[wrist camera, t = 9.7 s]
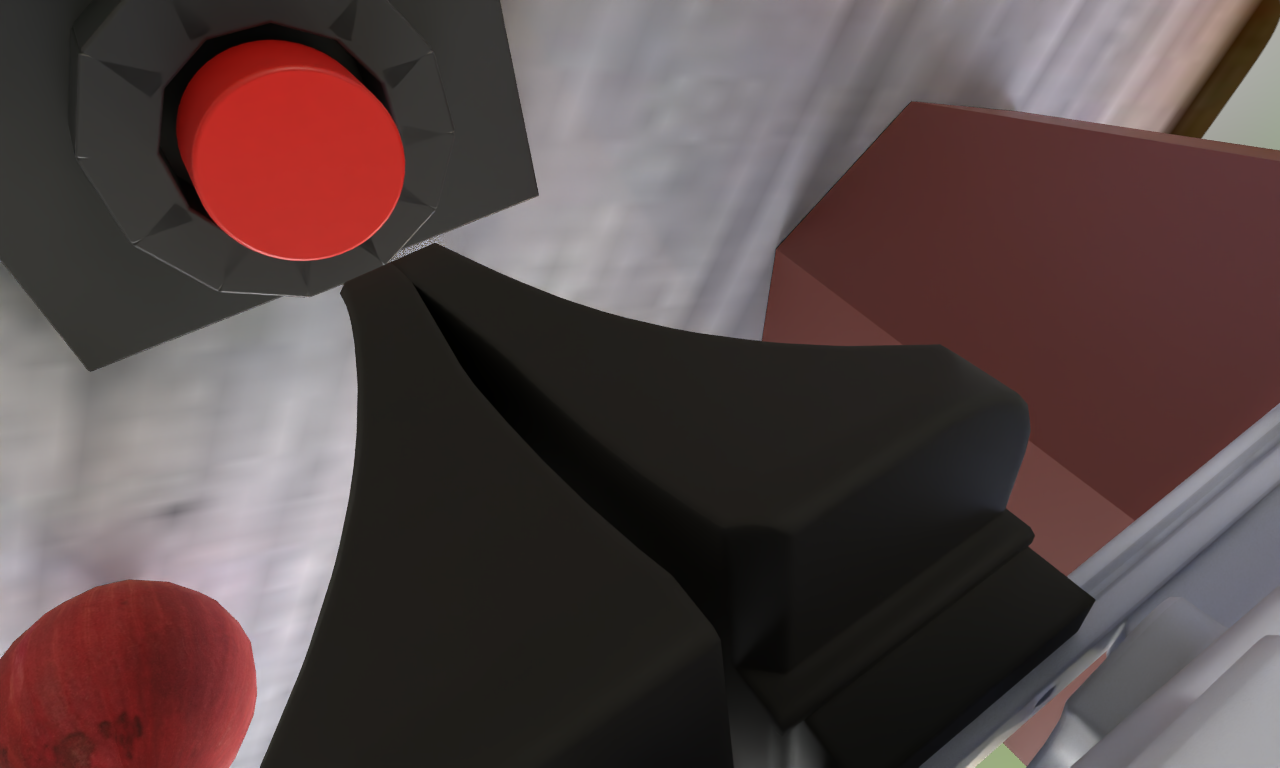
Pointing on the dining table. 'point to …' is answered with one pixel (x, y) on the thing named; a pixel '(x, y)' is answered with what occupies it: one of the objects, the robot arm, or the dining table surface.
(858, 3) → the dining table surface
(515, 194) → the button housing
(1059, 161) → the bucket
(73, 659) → the onion
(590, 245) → the dining table surface
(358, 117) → the button
